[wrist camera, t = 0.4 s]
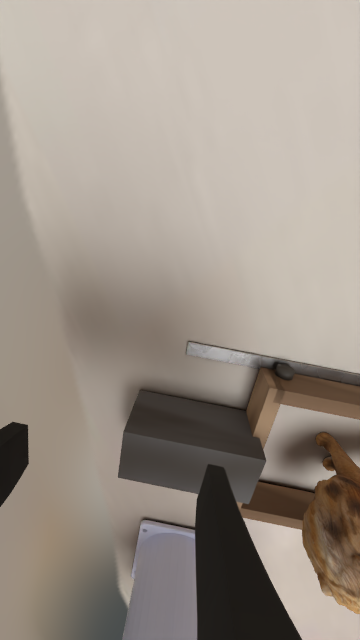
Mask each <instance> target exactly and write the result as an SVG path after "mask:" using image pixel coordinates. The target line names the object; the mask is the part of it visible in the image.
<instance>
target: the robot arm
mask: <svg viewBox="0 0 360 640" xmlns="http://www.w3.org/2000/svg"><path fill="white" fill-rule="evenodd" d="M28 464H29V463H28V425H25V424H20V423H15V422H12V423H10V424H8V425H7V426H5V427H3V428H2V429H0V507H1V505H2V504H3V503H4V501H5V500H6V499H7V497H8V496H9V495H10V493H11V492H12V490H13V489H14V487H15V485H16V484H17V482H18V480H19V479H20V477H21V476H22V474H23V472H24V470H25V469H26V467H27V465H28ZM131 577H132V578H133V579H134V583H133V588H132V593H131V598H130V603H129V609H128V614H127V620H126V625H125V629H124V635H123V640H302V639H301V637H300V635H299V633H298V631H297V630H296V628H295V626H294V624H293V622H292V620H291V619H290V617H289V615H288V613H287V611H286V609H285V607H284V605H283V604H282V602H281V600H280V598H279V596H278V594H277V592H276V590H275V588H274V586H273V584H272V582H271V580H270V578H269V576H268V574H267V572H266V570H265V568H264V565H263V563H262V561H261V559H260V557H259V555H258V553H257V550H256V548H255V546H254V544H253V541H252V539H251V537H250V534H249V532H248V529H247V527H246V525H245V522H244V520H243V518H242V515H241V512H240V510H239V507H238V505H237V502H236V499H235V497H234V494H233V491H232V488H231V486H230V483H229V480H228V477H227V473H226V470H225V469H224V467H221V466H216V465H212V464H208V465H207V469H206V472H205V475H204V478H203V482H202V485H201V488H200V491H199V495H198V498H197V506H196V522H195V530H192V529H188V528H183V527H178V526H173V525H168V524H163V523H159V522H154V521H149V520H143V521H142V522H141V525H140V530H139V536H138V541H137V547H136V552H135V557H134V563H133V568H132V574H131Z"/></svg>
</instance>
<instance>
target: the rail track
mask: <svg viewBox="0 0 360 640" xmlns="http://www.w3.org/2000/svg"><path fill="white" fill-rule="evenodd" d="M186 354H187V355H192V356H197V357H202V358H207V359H212V360H217V361H223V362H228V363H233V364H238V365H243V366H248V367H253V368H258V369H260V367H263V368H268V369H273V370H276V367H277V365H278V364H286V365H288V366H291V367H292V368H293V369H294V370H295V373H294V374H298V375H304V376H309V377H314V378H319V379H324V380H329V381H334V382H339V383H345V384H350V385H355V386H360V374H355V373H350V372H345V371H339V370H334V369H329V368H324V367H319V366H314V365H309V364H304V363H298V362H293V361H288V360H283V359H278V358H273V357H268V356H262V355H257V354H252V353H247V352H242V351H237V350H232V349H227V348H221V347H216V346H211V345H206V344H201V343H196V342H191V341H189V342H188V347H187V352H186Z"/></svg>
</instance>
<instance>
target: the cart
mask: <svg viewBox="0 0 360 640" xmlns="http://www.w3.org/2000/svg"><path fill="white" fill-rule="evenodd" d="M294 373H295V370H294V369H293V368H292V367H291V366H288V365H286V364H278V365H277V367H276V370H273V369H268V368H263V367H260V370H259V373H258V376H257V380H256V383H255V386H254V389H253V392H252V395H251V398H250V401H249V404H248V407H247V410H246V411H243V410H238V409H233V408H228V407H223V406H218V405H213V404H208V403H203V402H198V401H193V400H188V399H183V398H178V397H173V396H168V395H163V394H158V393H153V392H148V391H142V390H140V391H139V393H138V396H137V399H136V401H135V404H134V406H133V409H132V411H131V414H130V417H129V419H128V422H127V424H126V427H125V430H124V433H123V441H122V449H121V457H120V465H119V472H118V478H123V479H128V480H133V481H137V482H142V483H147V484H152V485H157V486H162V487H167V488H172V489H177V490H181V491H186V492H191V493H196V494H199V491H200V488H201V485H202V482H203V478H204V475H205V472H206V469H207V465H208V464H212V465H216V466H221V467H224V469H225V470H226V473H227V477H228V480H229V483H230V486H231V488H232V491H233V494H234V497H235V499H236V502H237V505H238V507H239V510H240V512H241V515H242V517H243V518H247V519H252V520H257V521H262V522H267V523H272V524H277V525H282V526H286V527H291V528H296V529H301V530H302V529H303V524H302V522H303V519H304V513H305V512H306V511H307V509H308V507H309V504H310V503H311V502H312V501H313V500H314V496H315V493H311V492H306V491H301V490H296V489H291V488H287V487H282V486H277V485H272V484H267V483H262V482H258V480H259V477H260V475H261V472H262V470H263V467H264V465H265V462H266V458H265V455H264V451H263V449H264V446H265V443H266V441H267V438H268V435H269V433H270V430H271V428H272V425H273V422H274V420H275V417H276V414H277V412H278V409H279V407H280V404H284V405H289V406H294V407H299V408H304V409H309V410H314V411H319V412H324V413H329V414H334V415H339V416H344V417H349V418H354V419H359V420H360V386H355V385H350V384H345V383H339V382H334V381H329V380H324V379H319V378H314V377H309V376H304V375H298V374H294Z"/></svg>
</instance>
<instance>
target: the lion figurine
mask: <svg viewBox="0 0 360 640" xmlns="http://www.w3.org/2000/svg"><path fill="white" fill-rule="evenodd" d="M316 442H317V445H318V446H323V447H324V448H325V449H326V450H327V451H328V452H330V454H331V456H332V457H327V458H325V459H324V461H323V466H324V467H325V468H326V469H327V470H330V471H334V470H335V471H336V474H337V475H334V476H332V477H331V478H330V479H328V480H323V481H319V482H318V483H317V486H316V487H315V496H314V500H313V501H312V502H311V503H310V504H309V507H308V509H307V511H306V512H305V513H304V519H303V522H302V524H303V529H302V537H303V545H304V548H305V550H306V552H307V555H308V557H309V559H310V561H311V563H312V565H313V567H314V570H315V572H316V574H317V575H318V580H319V582H320V586H321V590H322V592H323V593H324V594H325V595H326V596H333V597H334V598H335V600H336V601H337V603H338V604H339V605H343V606H346V607H347V608H348V609H349V610H351V611H353V612H354V613H356V614H360V468H359V467H358V466H357V465H356V464H355V463H354V462H353V461H352V460H351V459H350V458H349V456H348V455H347V454H346V453H345V452H344V450H343V449H342V448H341V446H340V445H339V444H338V442H337V441H336V440H335V439H334V438H333V437H332V436H331V435H329V434H328V433H325V432H322V433H319V434H318V435H317V436H316Z"/></svg>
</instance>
